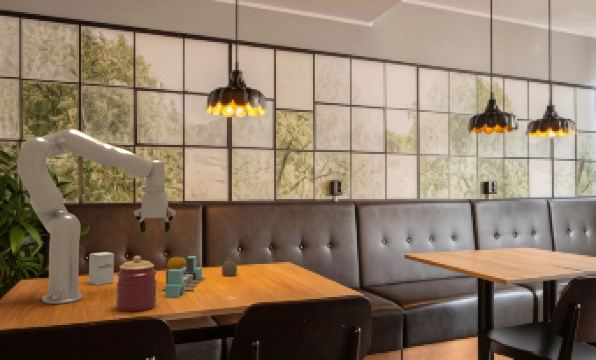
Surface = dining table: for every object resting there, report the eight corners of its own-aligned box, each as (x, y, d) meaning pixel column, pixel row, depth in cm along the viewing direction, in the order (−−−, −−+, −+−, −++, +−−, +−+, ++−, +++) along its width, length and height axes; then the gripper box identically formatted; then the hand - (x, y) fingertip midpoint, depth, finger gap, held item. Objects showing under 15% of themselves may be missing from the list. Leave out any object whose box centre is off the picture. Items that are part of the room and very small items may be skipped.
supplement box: (97, 285, 183) (97, 255, 183) (88, 283, 187) (88, 253, 187) (114, 282, 189) (114, 253, 189) (104, 280, 193) (105, 251, 193)
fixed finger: (201, 277, 196) (202, 256, 196) (198, 280, 190) (198, 258, 190) (184, 277, 196) (184, 255, 196) (180, 279, 190) (180, 257, 191)
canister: (160, 301, 158) (161, 252, 159) (149, 312, 145) (150, 258, 146) (124, 301, 158) (124, 252, 158) (110, 312, 145) (110, 258, 145)
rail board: (192, 291, 174) (192, 282, 174) (162, 290, 175) (162, 282, 175) (206, 279, 196) (206, 271, 196) (180, 279, 197) (180, 271, 197)
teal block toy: (178, 297, 164) (178, 272, 164) (163, 297, 164) (164, 272, 165) (184, 292, 172) (185, 268, 172) (170, 292, 172) (171, 268, 173)
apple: (165, 274, 207) (165, 255, 207) (184, 272, 211) (185, 254, 211) (168, 278, 199) (168, 258, 199) (188, 276, 203) (188, 257, 203)
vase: (238, 276, 205) (238, 257, 205) (234, 279, 198) (235, 259, 198) (224, 275, 205) (224, 256, 206) (219, 278, 199) (220, 259, 199)
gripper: (130, 190, 178) (130, 232, 178) (173, 190, 178) (173, 232, 178) (137, 190, 185) (137, 230, 185) (178, 190, 185) (178, 230, 185)
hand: (155, 231), depth 181 cm, fingers open, 9 cm apart
